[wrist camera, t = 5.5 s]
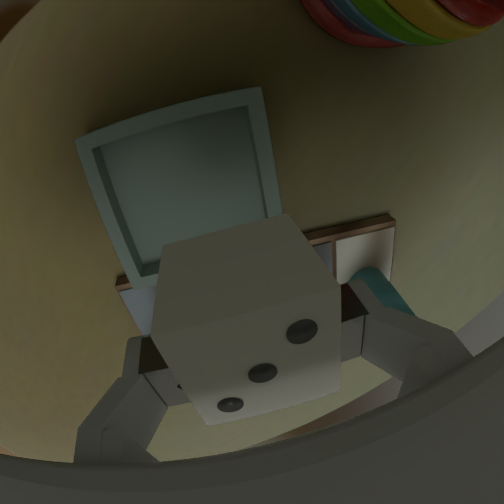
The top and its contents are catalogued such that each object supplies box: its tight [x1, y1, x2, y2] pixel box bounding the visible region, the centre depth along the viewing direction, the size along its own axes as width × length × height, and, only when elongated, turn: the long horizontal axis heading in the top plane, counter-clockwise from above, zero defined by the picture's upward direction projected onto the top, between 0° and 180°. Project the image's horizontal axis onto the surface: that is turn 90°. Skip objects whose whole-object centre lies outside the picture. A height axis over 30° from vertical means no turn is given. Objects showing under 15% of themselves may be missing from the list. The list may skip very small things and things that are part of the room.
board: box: [115, 214, 396, 336], centre depth 27 cm, size 24×12×1 cm, turn 100°
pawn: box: [349, 267, 417, 317], centre depth 23 cm, size 4×4×10 cm
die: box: [150, 213, 341, 426], centre depth 10 cm, size 4×4×4 cm
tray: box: [74, 87, 282, 290], centre depth 20 cm, size 12×12×2 cm
